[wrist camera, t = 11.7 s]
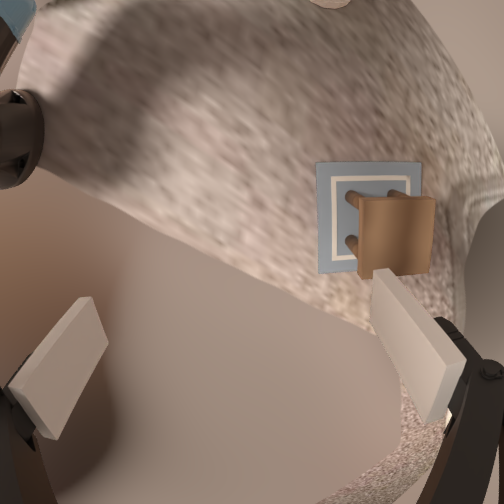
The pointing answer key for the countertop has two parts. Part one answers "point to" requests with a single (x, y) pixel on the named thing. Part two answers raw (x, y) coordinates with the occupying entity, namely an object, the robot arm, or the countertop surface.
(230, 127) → the countertop surface
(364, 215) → the stool
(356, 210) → the mat
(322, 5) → the white cup
